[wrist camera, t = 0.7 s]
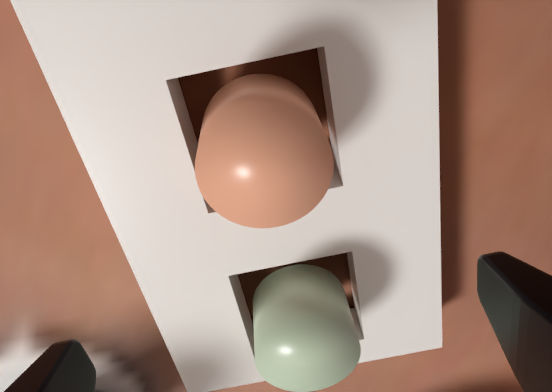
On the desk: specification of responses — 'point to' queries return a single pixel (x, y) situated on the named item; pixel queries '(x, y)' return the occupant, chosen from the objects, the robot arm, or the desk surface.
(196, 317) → the button console
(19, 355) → the desk surface
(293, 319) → the sage button
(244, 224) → the terracotta button
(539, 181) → the desk surface
